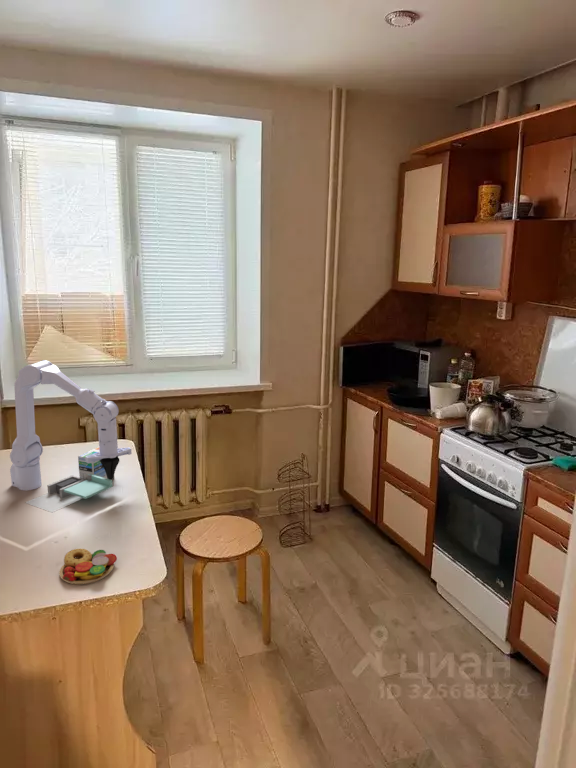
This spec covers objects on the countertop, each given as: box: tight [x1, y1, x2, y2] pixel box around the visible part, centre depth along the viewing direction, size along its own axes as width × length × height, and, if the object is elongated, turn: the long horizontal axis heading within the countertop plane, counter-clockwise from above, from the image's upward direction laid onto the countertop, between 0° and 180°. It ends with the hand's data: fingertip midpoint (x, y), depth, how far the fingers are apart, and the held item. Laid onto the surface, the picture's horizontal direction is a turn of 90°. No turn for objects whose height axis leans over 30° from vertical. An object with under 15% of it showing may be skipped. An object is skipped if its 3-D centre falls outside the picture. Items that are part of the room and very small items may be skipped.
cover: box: [64, 474, 114, 500], centre depth 172 cm, size 11×10×2 cm
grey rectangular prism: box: [56, 479, 77, 494], centre depth 178 cm, size 3×6×3 cm, turn 151°
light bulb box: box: [77, 446, 108, 480], centre depth 187 cm, size 11×7×11 cm, turn 160°
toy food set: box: [58, 548, 118, 586], centre depth 135 cm, size 13×13×3 cm
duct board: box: [24, 475, 85, 513], centre depth 174 cm, size 13×18×4 cm
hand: (110, 478), depth 178 cm, fingers closed
